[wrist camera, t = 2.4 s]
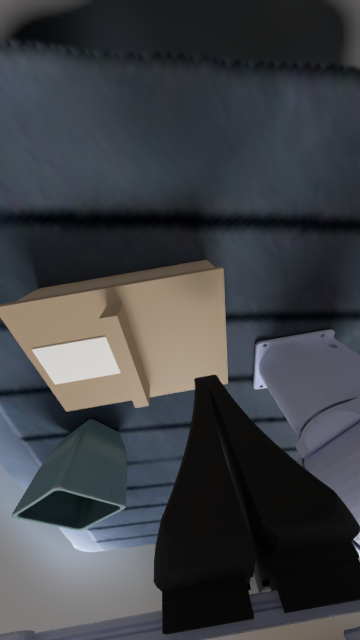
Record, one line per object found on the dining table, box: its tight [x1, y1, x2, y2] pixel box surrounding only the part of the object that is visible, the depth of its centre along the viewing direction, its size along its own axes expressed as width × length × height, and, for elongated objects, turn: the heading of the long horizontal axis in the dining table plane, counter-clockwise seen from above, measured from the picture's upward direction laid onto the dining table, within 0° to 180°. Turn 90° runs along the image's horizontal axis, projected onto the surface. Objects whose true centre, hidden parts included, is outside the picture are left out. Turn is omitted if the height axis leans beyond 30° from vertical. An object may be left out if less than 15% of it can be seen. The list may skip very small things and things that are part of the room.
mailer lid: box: [0, 266, 228, 412], centre depth 15 cm, size 16×12×3 cm
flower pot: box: [12, 419, 127, 530], centre depth 25 cm, size 9×9×9 cm
